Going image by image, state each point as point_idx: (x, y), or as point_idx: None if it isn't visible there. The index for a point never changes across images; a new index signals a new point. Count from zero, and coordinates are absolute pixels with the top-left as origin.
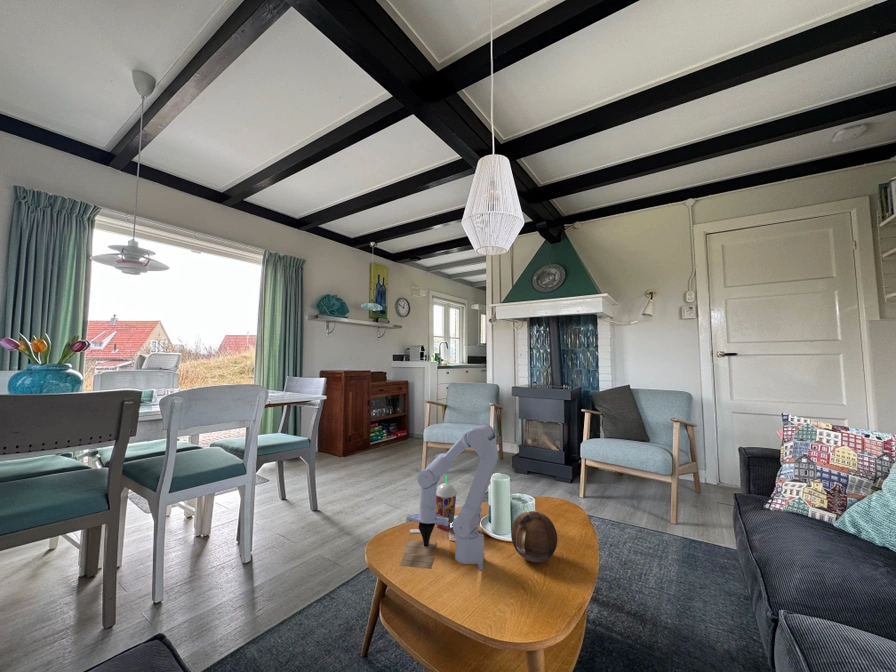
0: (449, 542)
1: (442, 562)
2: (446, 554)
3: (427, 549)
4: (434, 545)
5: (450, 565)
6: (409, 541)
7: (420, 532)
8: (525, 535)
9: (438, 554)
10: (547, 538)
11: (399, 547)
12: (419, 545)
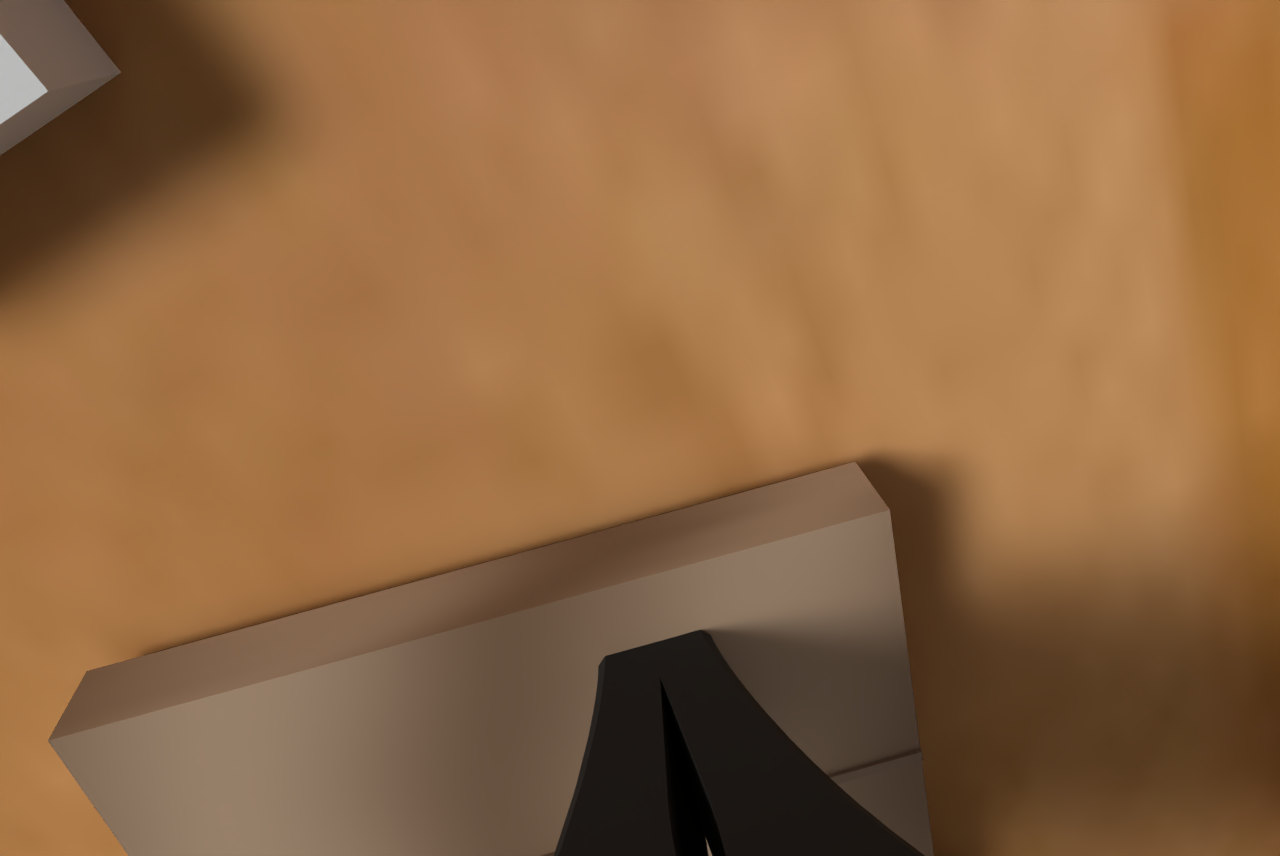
0: (1139, 8)
1: (1110, 826)
2: (1144, 583)
3: None
4: (884, 640)
5: (1260, 831)
6: (143, 777)
7: (35, 96)
8: None
9: (977, 656)
10: None
11: (4, 820)
12: (513, 797)
